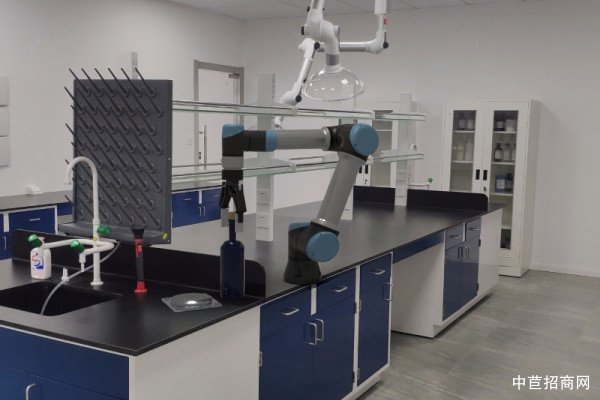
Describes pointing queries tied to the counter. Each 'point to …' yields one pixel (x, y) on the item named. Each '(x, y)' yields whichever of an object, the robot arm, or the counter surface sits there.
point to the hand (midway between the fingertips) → (231, 229)
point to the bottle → (232, 265)
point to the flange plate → (191, 302)
